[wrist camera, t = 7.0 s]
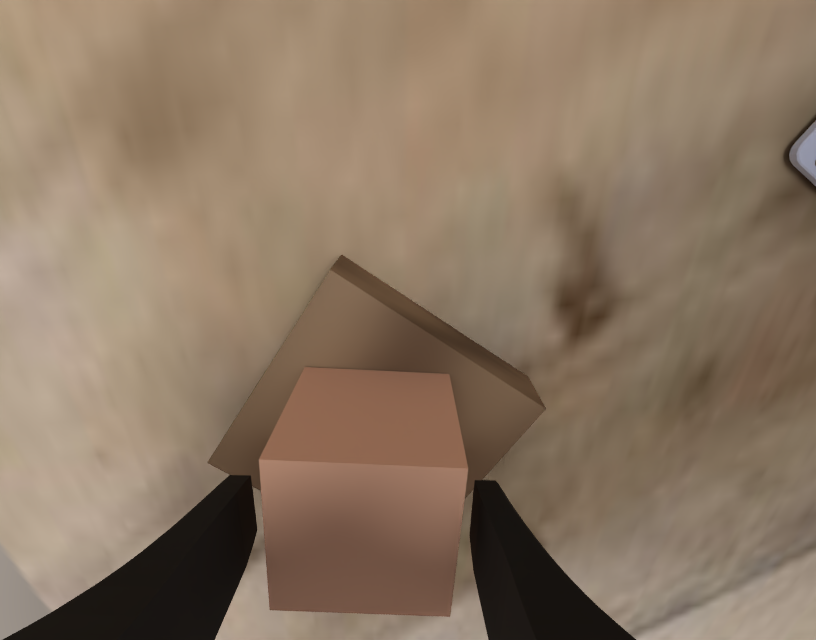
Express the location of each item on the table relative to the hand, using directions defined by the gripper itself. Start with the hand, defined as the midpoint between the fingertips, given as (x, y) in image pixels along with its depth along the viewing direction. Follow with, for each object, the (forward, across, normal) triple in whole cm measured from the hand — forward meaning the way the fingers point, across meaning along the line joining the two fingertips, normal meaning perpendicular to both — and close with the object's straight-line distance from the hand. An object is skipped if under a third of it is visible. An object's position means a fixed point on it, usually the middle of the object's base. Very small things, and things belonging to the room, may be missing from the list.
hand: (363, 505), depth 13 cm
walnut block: (+6, 0, 0) cm, 6 cm away
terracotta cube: (+3, 0, 0) cm, 3 cm away
